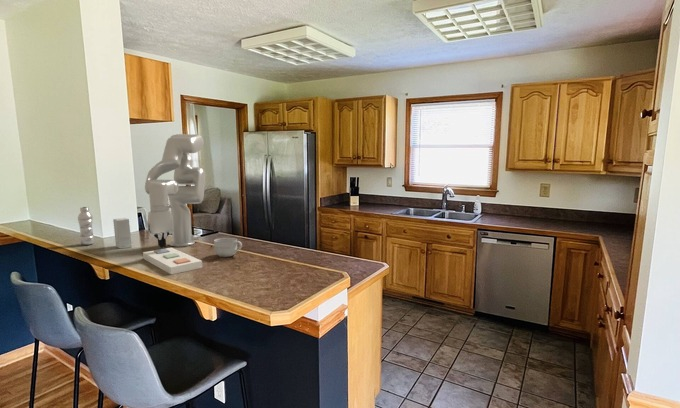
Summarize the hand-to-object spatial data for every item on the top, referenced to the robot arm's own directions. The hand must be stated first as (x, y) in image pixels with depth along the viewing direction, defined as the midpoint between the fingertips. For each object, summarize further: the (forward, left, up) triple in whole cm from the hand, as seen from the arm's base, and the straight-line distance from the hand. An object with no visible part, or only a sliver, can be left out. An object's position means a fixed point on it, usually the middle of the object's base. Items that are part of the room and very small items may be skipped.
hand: (162, 247), depth 169 cm
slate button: (+1, +1, -3) cm, 4 cm away
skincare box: (+7, -35, -5) cm, 36 cm away
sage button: (+1, +12, -3) cm, 12 cm away
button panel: (+1, +12, -5) cm, 13 cm away
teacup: (-23, +19, -5) cm, 30 cm away
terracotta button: (+1, +23, -4) cm, 23 cm away
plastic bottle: (+19, -53, -5) cm, 57 cm away
